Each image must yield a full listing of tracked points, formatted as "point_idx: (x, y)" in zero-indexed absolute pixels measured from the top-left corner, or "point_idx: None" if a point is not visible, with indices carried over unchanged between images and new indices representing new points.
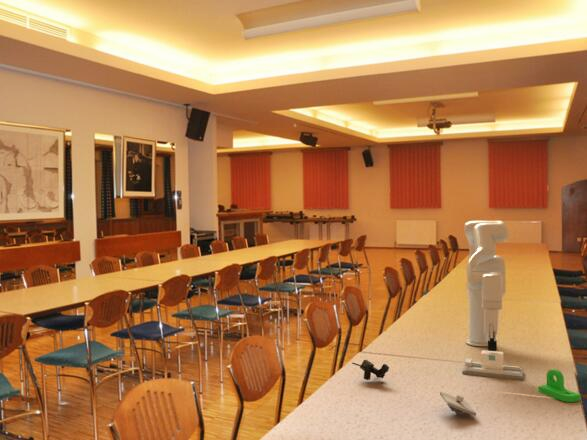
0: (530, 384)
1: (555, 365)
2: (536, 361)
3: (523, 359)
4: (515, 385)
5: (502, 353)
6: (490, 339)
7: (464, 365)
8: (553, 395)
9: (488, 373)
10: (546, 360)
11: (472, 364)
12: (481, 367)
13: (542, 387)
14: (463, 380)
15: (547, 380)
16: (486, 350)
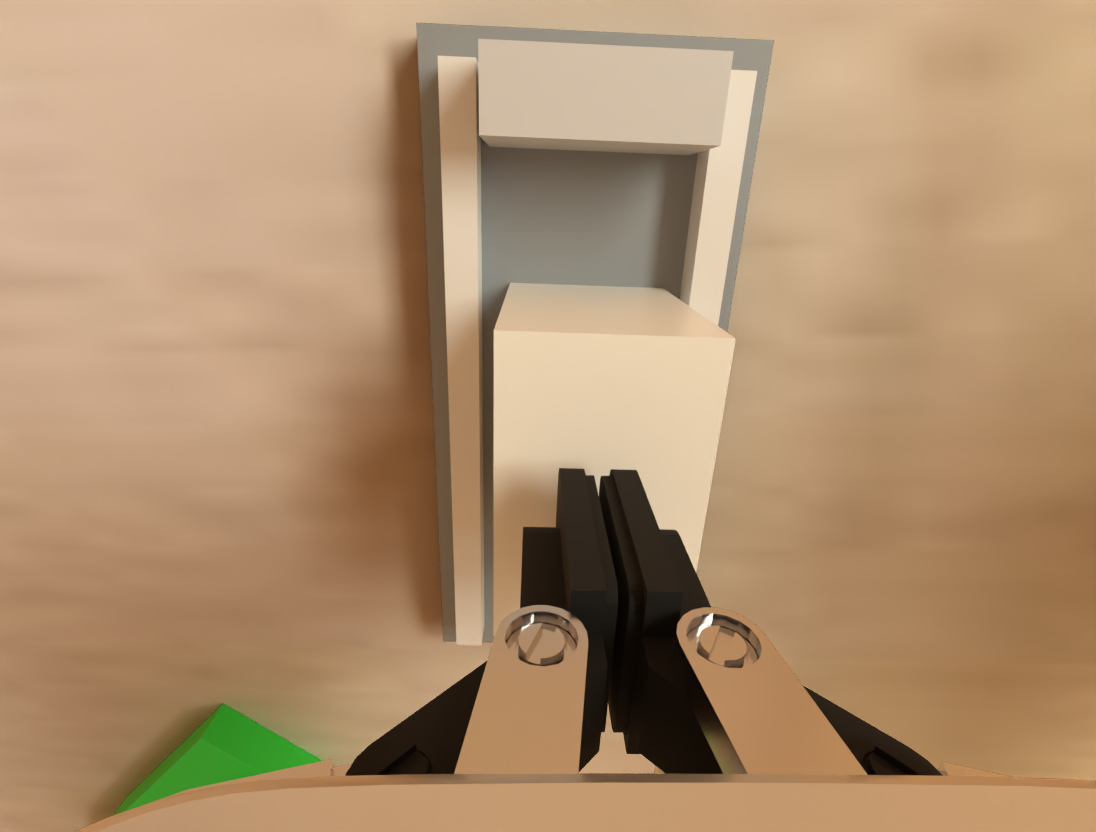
0: (363, 664)
1: None
2: (1018, 715)
3: (1084, 637)
4: (279, 572)
5: None
6: (447, 705)
7: (684, 38)
8: (147, 779)
9: (432, 363)
10: (1047, 771)
11: (703, 159)
12: (509, 290)
13: (189, 757)
14: (157, 69)
15: None
16: (719, 414)
